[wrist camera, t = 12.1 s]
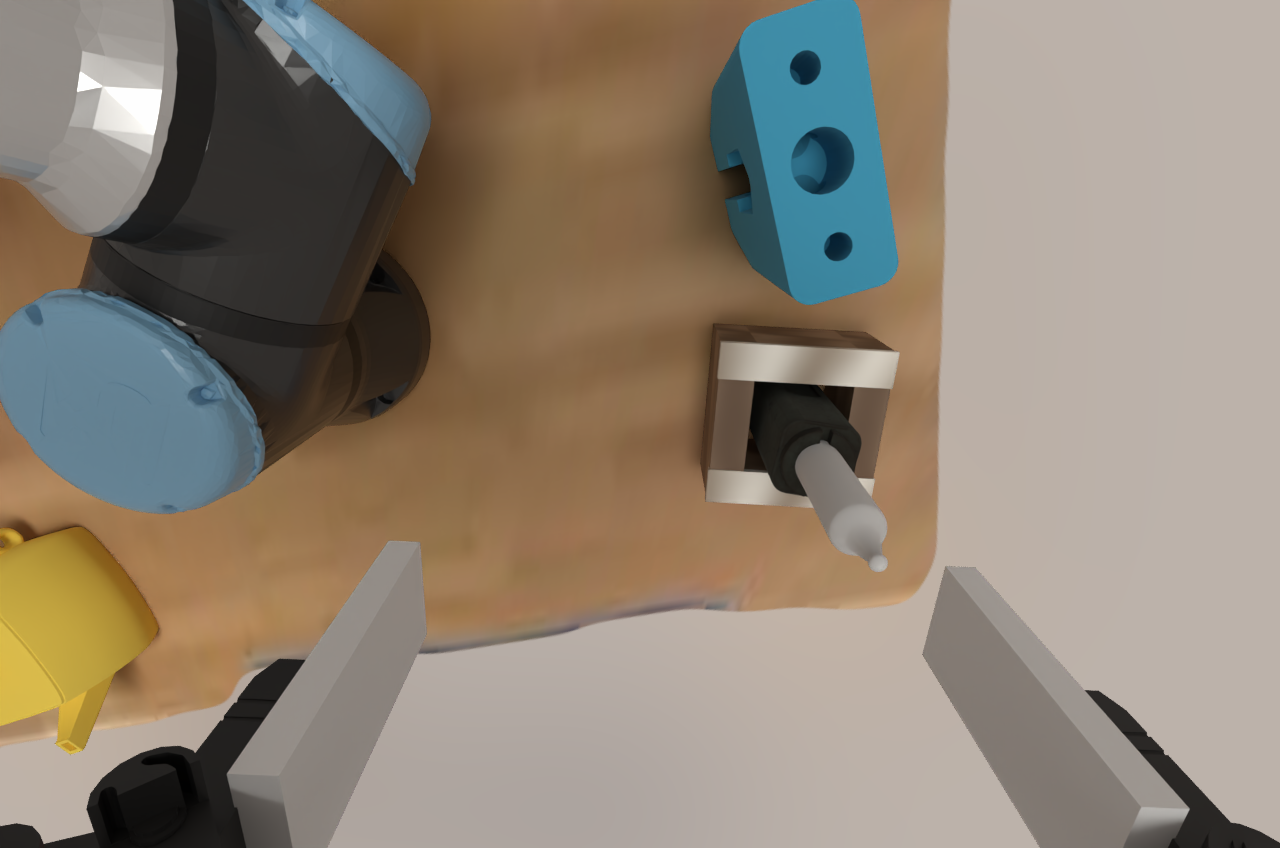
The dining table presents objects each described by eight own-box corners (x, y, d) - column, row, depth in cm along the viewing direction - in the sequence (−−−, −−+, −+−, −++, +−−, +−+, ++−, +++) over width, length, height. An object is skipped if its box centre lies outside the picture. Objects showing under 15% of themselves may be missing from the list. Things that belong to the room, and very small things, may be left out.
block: (804, 247, 48) (901, 279, 29) (740, 266, 49) (794, 309, 30) (770, 75, 44) (855, -14, 26) (700, 98, 45) (733, 28, 26)
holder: (699, 463, 54) (705, 501, 48) (712, 322, 50) (720, 342, 44) (842, 472, 54) (868, 511, 48) (867, 331, 50) (899, 352, 44)
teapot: (200, 665, 63) (102, 766, 52) (96, 698, 64) (-19, 803, 53) (73, 492, 57) (-68, 564, 46) (-37, 534, 58) (-200, 613, 47)
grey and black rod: (817, 376, 52) (954, 527, 28) (801, 434, 53) (918, 622, 30) (755, 365, 51) (841, 508, 28) (742, 424, 53) (811, 606, 29)
